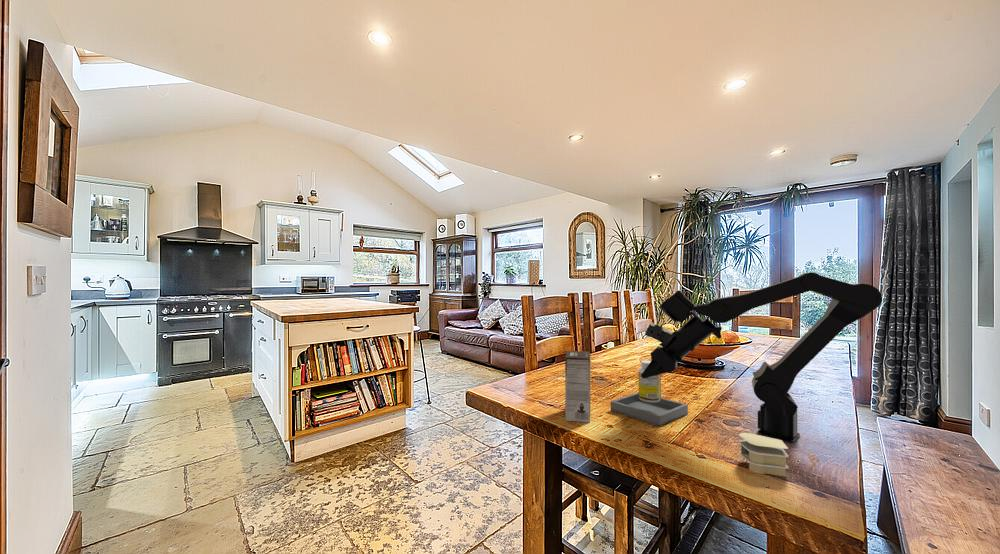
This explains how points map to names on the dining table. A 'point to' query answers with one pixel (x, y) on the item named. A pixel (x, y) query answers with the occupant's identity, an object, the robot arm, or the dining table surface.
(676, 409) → the tray
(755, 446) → the stacked layers on plate
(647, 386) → the supplement bottle
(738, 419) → the dining table surface
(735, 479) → the dining table surface
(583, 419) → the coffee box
